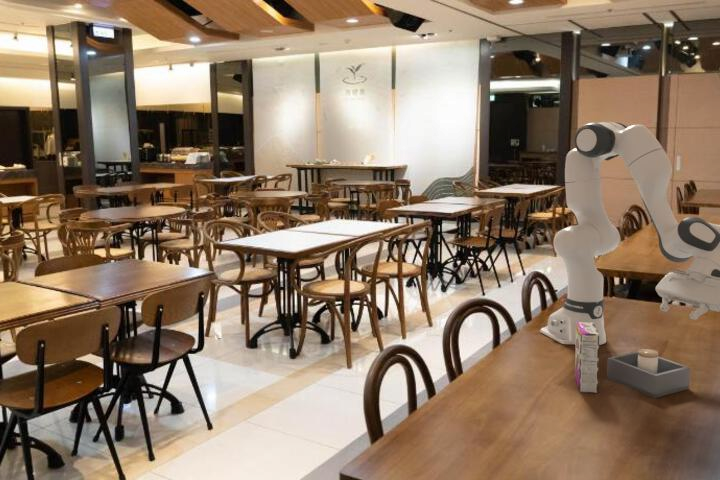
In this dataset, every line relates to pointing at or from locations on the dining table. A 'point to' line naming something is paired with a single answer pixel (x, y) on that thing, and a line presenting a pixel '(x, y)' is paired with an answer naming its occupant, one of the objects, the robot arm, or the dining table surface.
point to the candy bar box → (586, 357)
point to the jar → (648, 360)
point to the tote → (648, 375)
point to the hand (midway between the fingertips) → (677, 313)
